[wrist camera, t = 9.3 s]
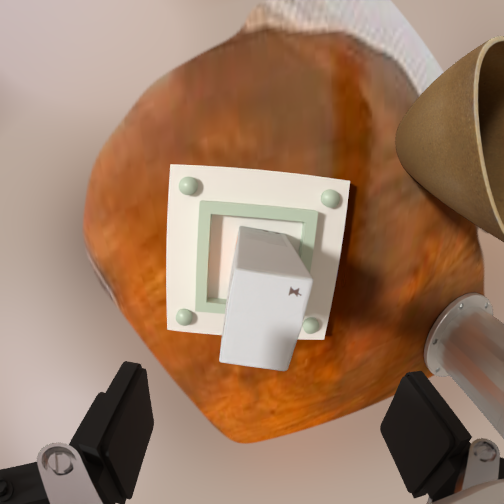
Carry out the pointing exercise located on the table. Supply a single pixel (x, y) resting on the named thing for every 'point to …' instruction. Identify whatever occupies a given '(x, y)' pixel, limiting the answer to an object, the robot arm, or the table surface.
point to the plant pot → (461, 137)
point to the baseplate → (226, 231)
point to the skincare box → (264, 301)
